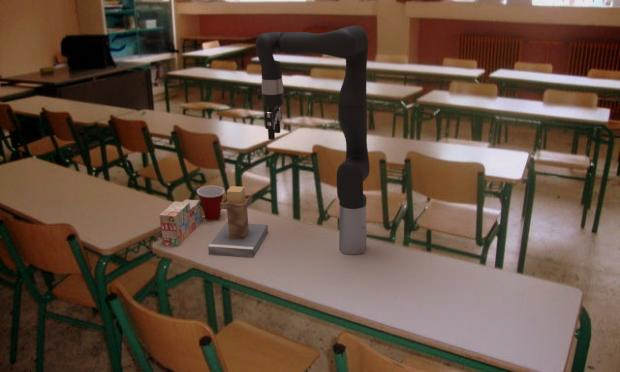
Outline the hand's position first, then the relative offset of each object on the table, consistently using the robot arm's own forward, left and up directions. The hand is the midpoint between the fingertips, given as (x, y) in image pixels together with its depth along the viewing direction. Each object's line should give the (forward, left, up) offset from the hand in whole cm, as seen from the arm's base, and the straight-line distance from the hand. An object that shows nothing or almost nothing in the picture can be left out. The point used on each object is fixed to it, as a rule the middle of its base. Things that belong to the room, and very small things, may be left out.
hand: (274, 136), depth 200 cm
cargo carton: (+11, +15, -20) cm, 27 cm away
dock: (+11, +15, -36) cm, 41 cm away
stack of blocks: (+35, +10, -36) cm, 51 cm away
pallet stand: (+11, +15, -33) cm, 38 cm away
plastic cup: (+28, -4, -36) cm, 46 cm away
